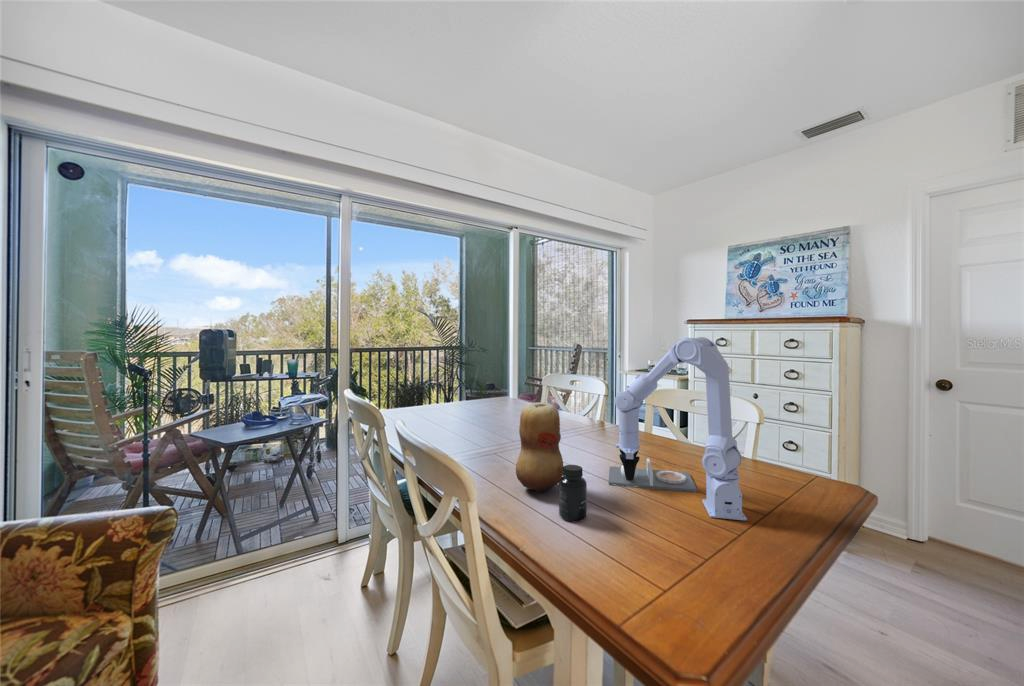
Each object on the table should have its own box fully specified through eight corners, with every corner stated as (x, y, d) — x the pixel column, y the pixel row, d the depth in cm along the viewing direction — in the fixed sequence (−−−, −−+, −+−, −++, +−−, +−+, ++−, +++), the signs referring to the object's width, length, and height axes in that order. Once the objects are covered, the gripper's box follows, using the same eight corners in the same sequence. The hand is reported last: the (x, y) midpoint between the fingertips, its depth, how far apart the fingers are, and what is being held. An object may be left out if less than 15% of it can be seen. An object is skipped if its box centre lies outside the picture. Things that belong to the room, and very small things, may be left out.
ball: (638, 482, 113) (638, 465, 113) (620, 481, 114) (620, 464, 114) (637, 476, 117) (637, 460, 117) (620, 475, 119) (620, 459, 119)
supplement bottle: (589, 522, 91) (588, 472, 91) (560, 522, 91) (559, 472, 91) (584, 509, 98) (583, 462, 98) (557, 509, 98) (557, 463, 98)
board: (697, 492, 107) (697, 477, 107) (608, 484, 114) (608, 470, 113) (688, 474, 121) (688, 461, 120) (609, 468, 127) (609, 456, 127)
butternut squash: (524, 502, 103) (523, 409, 102) (510, 484, 115) (509, 401, 115) (572, 495, 106) (570, 405, 106) (553, 478, 119) (552, 398, 119)
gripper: (615, 424, 124) (615, 466, 124) (614, 436, 110) (615, 483, 110) (638, 425, 122) (638, 468, 122) (640, 437, 108) (641, 485, 108)
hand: (629, 475), depth 116 cm, fingers closed on ball, 5 cm apart
